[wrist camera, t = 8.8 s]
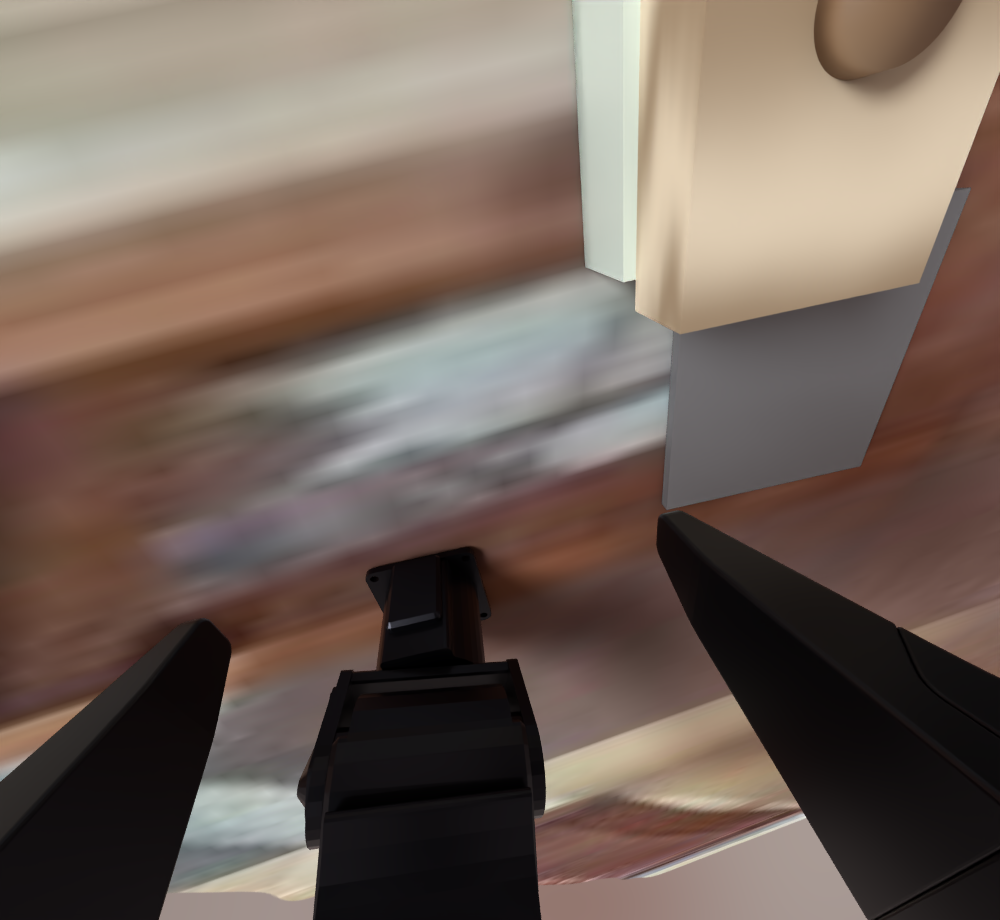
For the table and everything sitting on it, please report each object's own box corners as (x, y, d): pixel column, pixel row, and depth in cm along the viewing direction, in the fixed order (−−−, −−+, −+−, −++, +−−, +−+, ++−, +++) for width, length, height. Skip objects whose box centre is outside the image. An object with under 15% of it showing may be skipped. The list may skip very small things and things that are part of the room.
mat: (851, 460, 24) (860, 466, 24) (661, 503, 24) (666, 510, 24) (955, 188, 17) (971, 187, 16) (679, 247, 17) (686, 248, 16)
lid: (831, 269, 14) (949, 287, 11) (635, 310, 14) (695, 342, 10) (1019, -445, 7) (1474, -952, 4) (647, -380, 7) (816, -854, 4)
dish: (772, 227, 17) (857, 232, 13) (585, 266, 16) (623, 282, 13) (844, -181, 11) (1019, -347, 8) (565, -127, 11) (622, -274, 8)
